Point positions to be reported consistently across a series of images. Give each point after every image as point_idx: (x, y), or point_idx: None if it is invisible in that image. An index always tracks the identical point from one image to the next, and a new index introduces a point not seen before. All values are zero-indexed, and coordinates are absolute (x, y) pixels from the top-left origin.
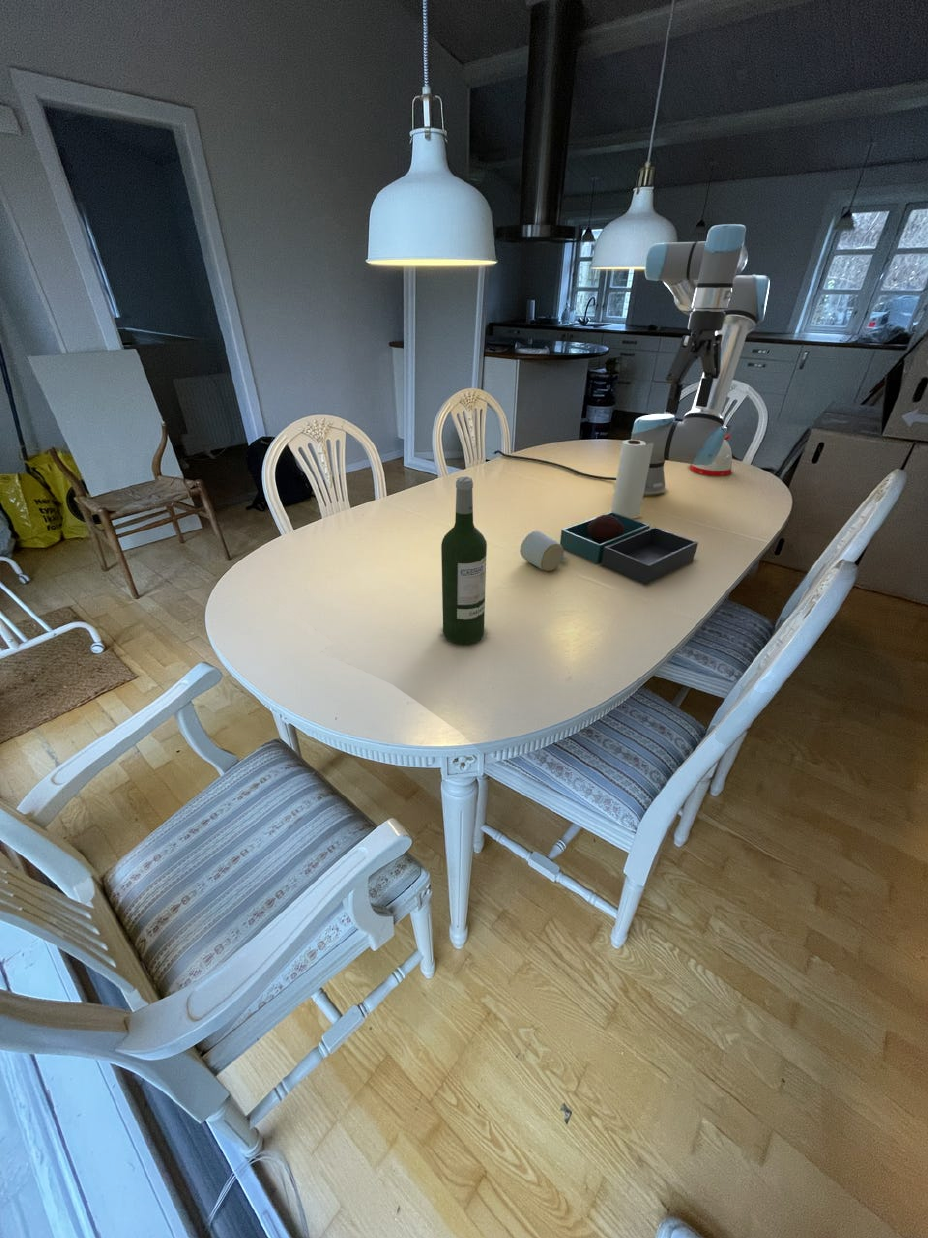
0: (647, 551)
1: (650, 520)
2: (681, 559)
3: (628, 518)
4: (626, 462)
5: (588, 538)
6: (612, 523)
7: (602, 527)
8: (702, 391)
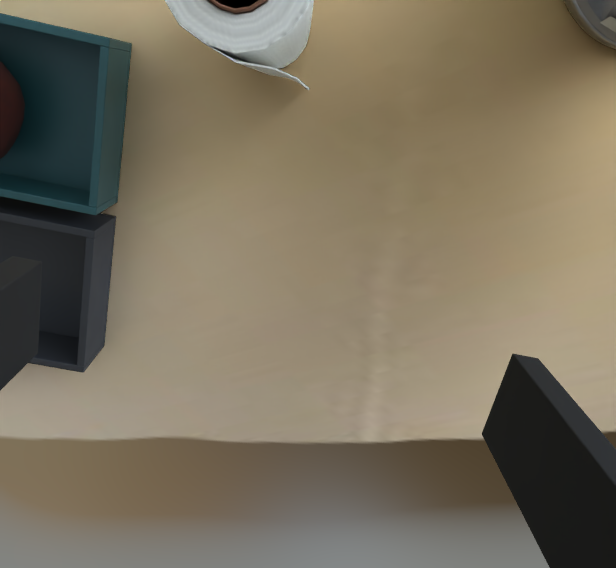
0: (48, 234)
1: (310, 135)
2: None
3: (94, 127)
4: None
5: None
6: None
7: None
8: (554, 467)
